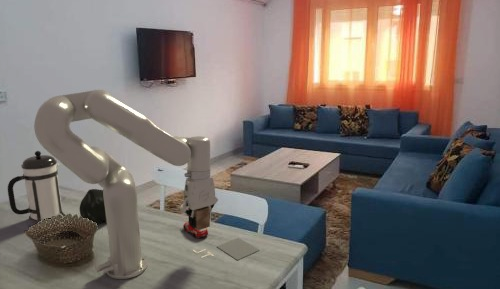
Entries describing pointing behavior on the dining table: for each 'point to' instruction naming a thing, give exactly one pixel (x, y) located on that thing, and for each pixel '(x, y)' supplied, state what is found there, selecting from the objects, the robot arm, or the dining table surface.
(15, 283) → the dining table surface
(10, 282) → the dining table surface
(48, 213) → the coffee press
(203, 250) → the card
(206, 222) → the walnut block
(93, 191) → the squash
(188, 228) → the race car
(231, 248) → the pad
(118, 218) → the robot arm
